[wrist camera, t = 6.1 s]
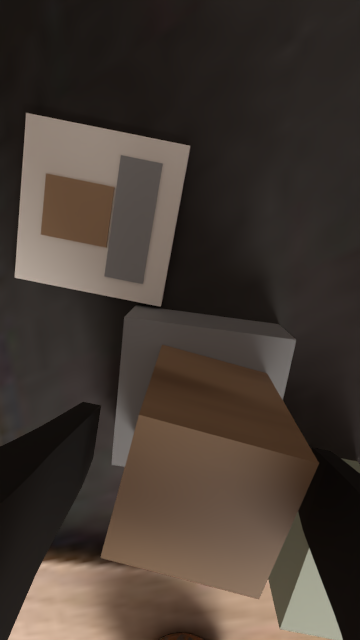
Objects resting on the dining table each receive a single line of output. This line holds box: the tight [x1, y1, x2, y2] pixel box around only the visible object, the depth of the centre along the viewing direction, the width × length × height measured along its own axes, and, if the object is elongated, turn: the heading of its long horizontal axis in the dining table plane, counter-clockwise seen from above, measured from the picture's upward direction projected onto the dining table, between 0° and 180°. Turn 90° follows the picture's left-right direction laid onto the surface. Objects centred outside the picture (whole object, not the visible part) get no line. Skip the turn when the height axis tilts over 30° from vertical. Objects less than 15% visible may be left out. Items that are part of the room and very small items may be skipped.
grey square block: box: [112, 305, 296, 467], centre depth 15 cm, size 7×7×3 cm
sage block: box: [268, 458, 360, 640], centre depth 14 cm, size 4×4×6 cm
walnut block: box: [100, 345, 319, 599], centre depth 11 cm, size 4×4×6 cm
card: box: [15, 113, 190, 307], centre depth 14 cm, size 7×7×1 cm
